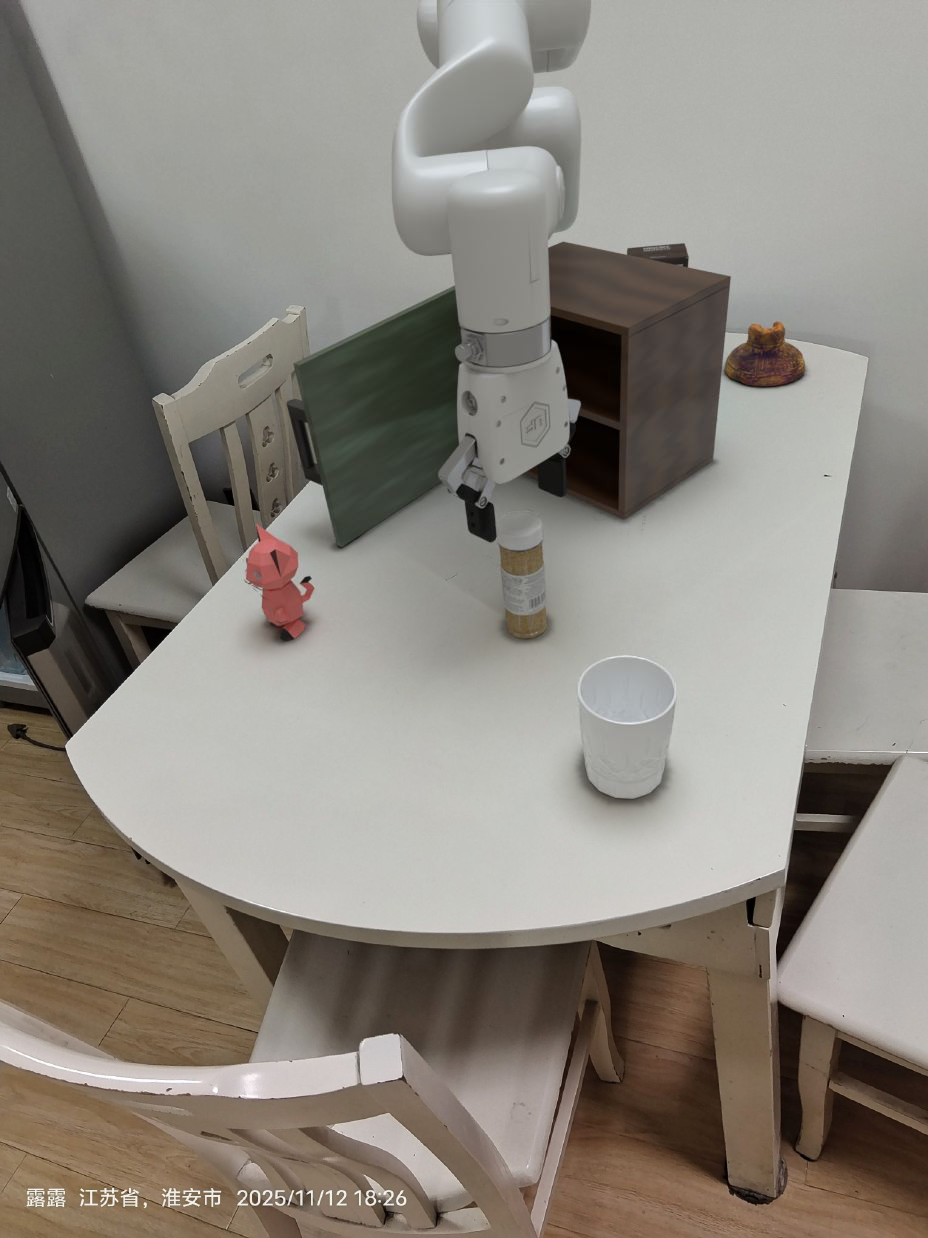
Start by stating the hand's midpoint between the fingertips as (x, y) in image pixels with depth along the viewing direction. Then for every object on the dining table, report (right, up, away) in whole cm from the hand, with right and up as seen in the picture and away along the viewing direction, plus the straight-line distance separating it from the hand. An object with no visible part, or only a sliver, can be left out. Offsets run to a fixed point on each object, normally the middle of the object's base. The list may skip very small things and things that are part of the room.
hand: (518, 513), depth 81 cm
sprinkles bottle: (+1, -11, +10) cm, 15 cm away
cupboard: (+12, +12, +35) cm, 39 cm away
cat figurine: (-24, -11, +14) cm, 30 cm away
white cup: (+9, -23, -6) cm, 26 cm away
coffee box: (+26, +34, +59) cm, 73 cm away
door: (-14, +7, +33) cm, 37 cm away
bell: (+41, +28, +50) cm, 70 cm away
